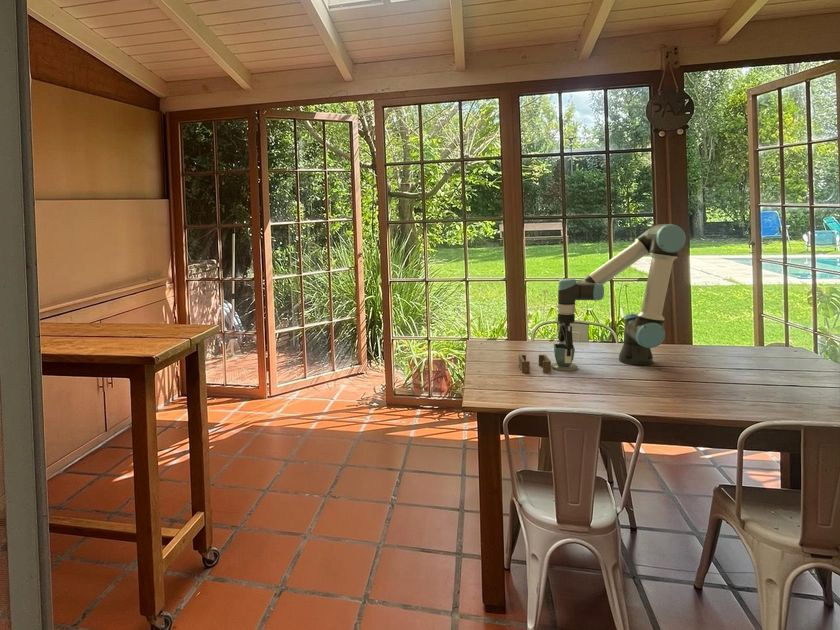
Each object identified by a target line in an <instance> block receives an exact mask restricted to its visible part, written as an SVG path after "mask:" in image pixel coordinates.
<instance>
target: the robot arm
mask: <svg viewBox="0 0 840 630" xmlns="http://www.w3.org/2000/svg"><path fill="white" fill-rule="evenodd" d="M686 239H687V237H686V233H685V231H684V229H682V228H681V226H678V225H676V224H673V223H657V224H655V225H653V226H651V227H649V228H648V229H647V230H645V231H643V233H642V234H640V235H639V236H638V237H635V239H634V242H633V243H631V244H630V245H629V246H627V247H626V248H625V249H623V250H622V251H620V252H619V253H618V254H616V255H615V256H613V257H611V259H609V260H608V261H606V262H605V263H603V264H602V265H601V266H599V267H598V268H597V269H595V270H594V271H592V272H591V273H589V274H588V275H587V276H585V277H584V278H582V279H578V280H577V279H574V278H561V279H559V280H558V288H557V292H558V293H557V306H556V309H557V312H558V313H557V318H556V319H557V322H559V329H558V330H559V331H558V335H557V339H558V344H565V345H566V347H565V348H564V349H565V363H571V355H572V348H573V346H574V344H573V343H574V342H573V327H572V325H571V324H573V323H575V319H576V314H575V313H576V301H594V302H595V301H602V300H603V299H604V297H605V287H604V285H605V284H607V283H608V282H609V281H610V280H612V279H614V277H617V276H618V275H619V274H620V273H623V271H625V270H626V269H628V268H629V267H630V266H632V265H634V264H635V263H636V262H638V261H639V260H640V259H642V258H644V257H648V256H651V257H650V258H651V260H650V261H651V262H650V265H649V270H648V277H647V280H646V286H645V291H644V296H643V299H642V305H641V310H640V312H637V313H636V312H634V313H632V312H631V313H626V314H625V315H624V316H625V317H624V328H623V345H622V346H621V347H622V348H621V350H620V351H619V354H618V361H619V362H621V363H623V364H627V365H628V364H629V365H638V366H647V364H648V365H651V363H652V364H653V363H654V355H653V352H652V349H654V348H656V347H658V346H660V345H661V344H662V343H663V342H664V340H665V338H666V331H665V328H664V324H665V321H666V320H665V317H664V316H663V310H664V307H665V301H666V296H667V292H668V287H669V284H670V283H669V282H670V277H671V273H672V269H673V263H674V261H675V260H677V259H678V258H679V255H680V250H681V249H682V248H684V246H685V244H686V242H687V241H686ZM571 364H572V363H571Z"/></svg>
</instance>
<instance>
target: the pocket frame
mask: <svg viewBox="0 0 840 630" xmlns="http://www.w3.org/2000/svg"><path fill="white" fill-rule="evenodd" d="M530 362H531V361H530V360H527V354H518V367H519V369H520V371H521V373H528V374H529V373H530V371H531V369H530V368H531V366H530V364H531V363H530ZM551 364H552V361H551V359H550V358H549V356H548V355H547V354H538V367H542V373H543V374H544V373H545V374H547V373H551V371H552V370H551V369H552V368H551Z"/></svg>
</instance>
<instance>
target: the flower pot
mask: <svg viewBox="0 0 840 630" xmlns="http://www.w3.org/2000/svg"><path fill="white" fill-rule="evenodd" d="M565 347H566V345H565V344H559V343H553V354H554V358H555V363H557V364H558V366H570V365H571V364H573V361H574V357H575V351H576V349H575V346H574V345H573V348H572V355H571V363H565V349H564V348H565Z"/></svg>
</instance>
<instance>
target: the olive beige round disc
mask: <svg viewBox="0 0 840 630" xmlns="http://www.w3.org/2000/svg"><path fill="white" fill-rule="evenodd" d="M578 366H579V365H577V364H575V363H571V365H570V366H558V364H557V362H554V363H551V369H552V370H554V371H560V372H575V371H577V370H579V367H578Z"/></svg>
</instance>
